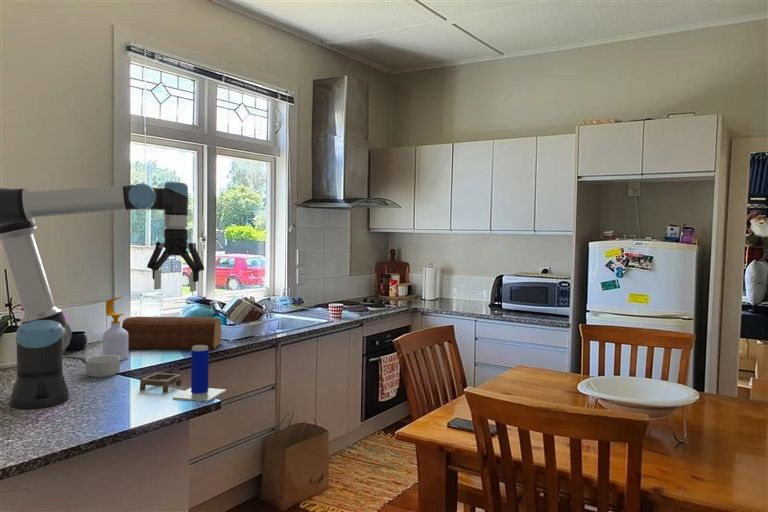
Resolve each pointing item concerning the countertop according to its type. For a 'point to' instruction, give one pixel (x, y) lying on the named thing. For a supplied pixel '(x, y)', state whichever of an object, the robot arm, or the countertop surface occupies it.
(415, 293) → the countertop surface
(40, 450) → the countertop surface
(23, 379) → the robot arm
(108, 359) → the saucepan
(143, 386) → the brown square stand
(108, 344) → the soap bottle
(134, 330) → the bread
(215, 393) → the coaster
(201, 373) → the beverage can
